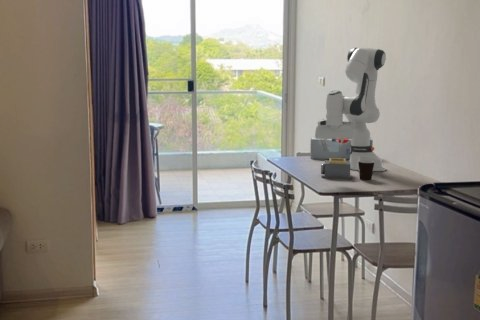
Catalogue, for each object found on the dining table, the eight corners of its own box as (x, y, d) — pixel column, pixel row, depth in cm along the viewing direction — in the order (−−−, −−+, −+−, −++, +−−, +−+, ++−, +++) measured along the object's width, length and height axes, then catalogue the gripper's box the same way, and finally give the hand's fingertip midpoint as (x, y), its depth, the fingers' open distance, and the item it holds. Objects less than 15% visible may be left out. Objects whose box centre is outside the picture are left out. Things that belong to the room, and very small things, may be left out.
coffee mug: (370, 181, 314) (371, 163, 312) (355, 179, 319) (355, 161, 317) (377, 178, 324) (378, 160, 322) (362, 176, 328) (363, 158, 327)
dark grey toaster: (349, 174, 333) (349, 158, 331) (350, 178, 322) (350, 161, 320) (320, 173, 335) (321, 157, 333) (320, 177, 324) (321, 160, 323)
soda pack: (370, 157, 393) (371, 136, 391) (372, 160, 380) (373, 139, 378) (310, 155, 399) (310, 135, 396) (309, 159, 386) (310, 138, 384)
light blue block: (338, 150, 315) (338, 137, 314) (338, 151, 310) (338, 138, 309) (328, 150, 316) (329, 137, 315) (329, 151, 311) (329, 138, 310)
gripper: (353, 120, 312) (353, 146, 315) (315, 120, 315) (315, 146, 317) (354, 122, 306) (353, 148, 308) (315, 122, 309) (314, 147, 311)
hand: (333, 147), depth 313 cm, fingers closed on light blue block, 5 cm apart
